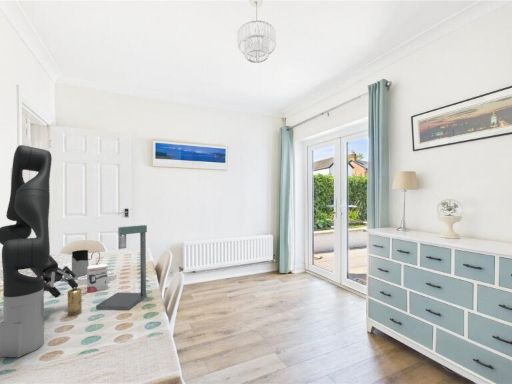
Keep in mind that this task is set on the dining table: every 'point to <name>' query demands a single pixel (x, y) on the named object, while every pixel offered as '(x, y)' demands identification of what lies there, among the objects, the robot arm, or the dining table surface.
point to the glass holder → (80, 263)
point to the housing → (74, 301)
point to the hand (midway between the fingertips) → (67, 291)
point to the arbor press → (131, 299)
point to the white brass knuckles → (110, 277)
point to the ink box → (97, 278)
